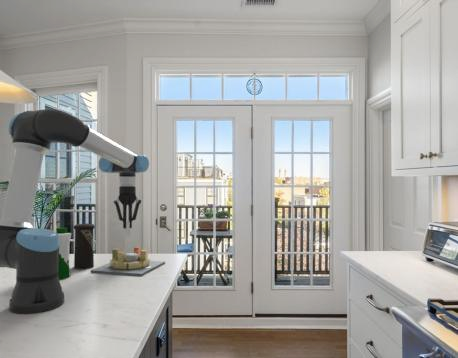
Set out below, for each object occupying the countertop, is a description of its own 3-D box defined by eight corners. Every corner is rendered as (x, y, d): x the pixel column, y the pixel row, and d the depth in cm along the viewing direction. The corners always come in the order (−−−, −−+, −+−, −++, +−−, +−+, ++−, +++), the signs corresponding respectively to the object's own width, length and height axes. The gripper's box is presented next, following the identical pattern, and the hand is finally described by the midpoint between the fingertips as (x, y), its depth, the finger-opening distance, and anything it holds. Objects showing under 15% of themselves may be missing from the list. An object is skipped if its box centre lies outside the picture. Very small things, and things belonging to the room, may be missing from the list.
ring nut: (137, 270, 149) (137, 254, 150) (103, 268, 153) (103, 252, 153) (154, 262, 166) (154, 247, 166) (122, 260, 169) (123, 245, 170)
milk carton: (73, 276, 144) (73, 228, 144) (53, 282, 136) (53, 230, 136) (59, 274, 148) (59, 226, 148) (38, 279, 140) (39, 229, 140)
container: (89, 269, 156) (90, 224, 156) (69, 269, 156) (70, 224, 156) (97, 265, 165) (97, 222, 165) (78, 265, 165) (78, 222, 165)
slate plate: (141, 276, 145) (141, 261, 145) (90, 272, 150) (90, 258, 151) (165, 263, 168) (165, 251, 168) (120, 260, 174) (120, 248, 174)
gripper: (139, 185, 173) (139, 233, 173) (112, 185, 167) (112, 235, 167) (143, 185, 166) (142, 235, 166) (114, 185, 161) (114, 237, 160)
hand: (127, 235), depth 167 cm, fingers closed
